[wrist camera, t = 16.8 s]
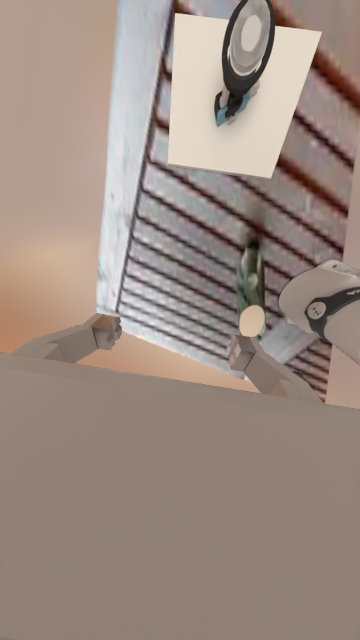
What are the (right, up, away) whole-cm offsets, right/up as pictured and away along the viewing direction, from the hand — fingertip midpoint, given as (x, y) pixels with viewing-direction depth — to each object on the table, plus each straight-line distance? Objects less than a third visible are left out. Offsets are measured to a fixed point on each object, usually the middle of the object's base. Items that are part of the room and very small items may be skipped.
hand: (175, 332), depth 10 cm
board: (+9, +36, +13) cm, 39 cm away
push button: (+9, +36, +12) cm, 39 cm away
